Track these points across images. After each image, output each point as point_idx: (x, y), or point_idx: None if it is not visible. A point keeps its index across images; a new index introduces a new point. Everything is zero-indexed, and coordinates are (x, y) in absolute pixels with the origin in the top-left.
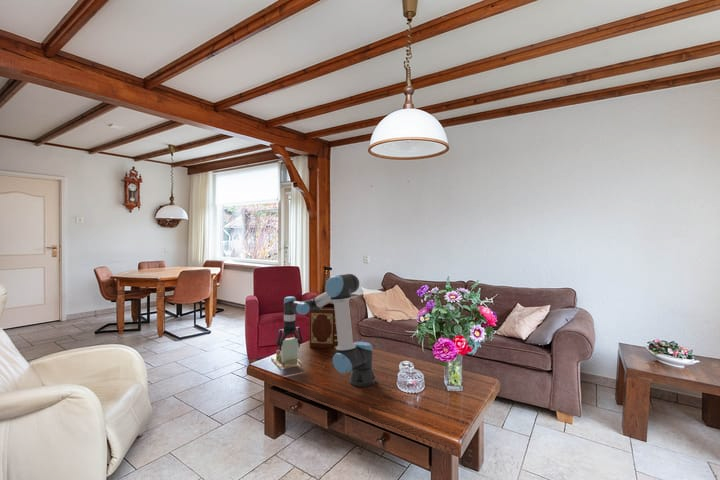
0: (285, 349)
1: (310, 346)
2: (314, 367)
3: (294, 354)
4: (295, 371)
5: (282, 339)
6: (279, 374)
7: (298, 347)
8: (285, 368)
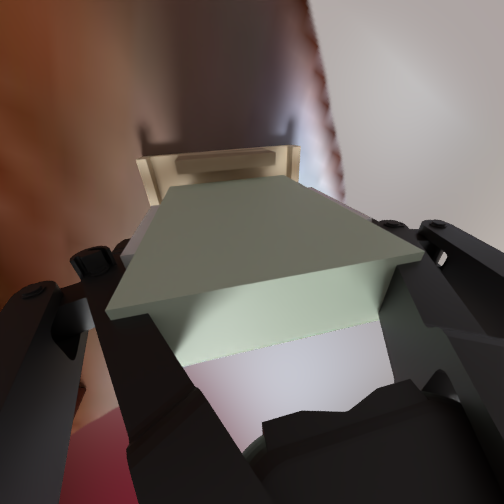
0: (302, 203)
1: (81, 391)
2: (30, 85)
3: (194, 194)
4: (202, 81)
5: (434, 277)
6: (311, 86)
7: (138, 226)
8: (261, 147)
